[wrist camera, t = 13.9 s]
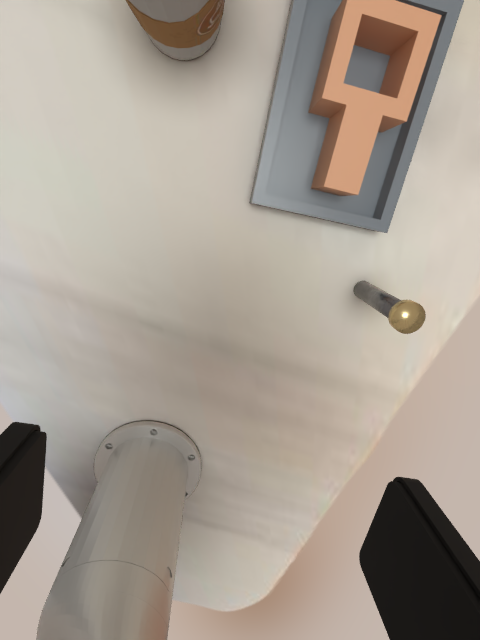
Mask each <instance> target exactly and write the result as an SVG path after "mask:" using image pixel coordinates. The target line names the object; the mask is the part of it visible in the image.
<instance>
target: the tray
mask: <svg viewBox="0 0 480 640" xmlns="http://www.w3.org/2000/svg"><path fill="white" fill-rule="evenodd" d="M396 1H399V2H402V3H405V4H408V5H411V6H414V7H418V8H421V9H424V10H427V11H430V12H433V13H436V14H439V15H442V16H441V19H440V22H439V25H438V28H437V31H436V34H435V37H434V40H433V43H432V46H431V49H430V52H429V55H428V58H427V61H426V64H425V67H424V70H423V73H422V76H421V79H420V83H419V86H418V89H417V92H416V95H415V98H414V101H413V104H412V107H411V110H410V113H409V116H408V119H407V122H405V123H402V124H400V125H398V126H396V127H393V128H391V129H389V130H386V131H384V132H382V133H381V132H378V133H377V136H376V139H375V142H374V146H373V149H372V152H371V155H370V159H369V162H368V165H367V168H366V171H365V175H364V178H363V181H362V184H361V188H360V191H359V194H358V195H350V196H339V195H335V194H331V193H326V192H322V191H318V190H314V189H311V186H312V182H313V178H314V174H315V171H316V167H317V163H318V159H319V156H320V152H321V148H322V145H323V141H324V137H325V133H326V130H327V126H328V122H329V118H327V117H323V116H319V115H316V114H312V113H308V111H309V107H310V103H311V99H312V95H313V91H314V87H315V83H316V79H317V75H318V71H319V67H320V63H321V59H322V55H323V51H324V47H325V43H326V39H327V35H328V31H329V27H330V23H331V19H332V17H333V15H334V14H335V12H336V10H337V8H338V7H339V5H340V3H341V2H342V0H291V5H290V10H289V15H288V20H287V24H286V29H285V34H284V39H283V44H282V49H281V53H280V58H279V63H278V68H277V73H276V78H275V82H274V87H273V92H272V97H271V102H270V107H269V111H268V116H267V121H266V126H265V131H264V136H263V140H262V145H261V150H260V155H259V160H258V165H257V169H256V174H255V179H254V184H253V189H252V194H251V198H250V203H252V204H257V205H261V206H266V207H270V208H275V209H279V210H284V211H288V212H293V213H297V214H302V215H306V216H311V217H315V218H320V219H324V220H329V221H333V222H338V223H342V224H347V225H351V226H356V227H360V228H365V229H369V230H374V231H379V232H384V233H387V232H388V229H389V226H390V223H391V220H392V217H393V214H394V211H395V208H396V205H397V202H398V199H399V196H400V192H401V189H402V186H403V183H404V180H405V177H406V174H407V171H408V168H409V165H410V162H411V159H412V156H413V153H414V150H415V147H416V144H417V141H418V138H419V135H420V132H421V129H422V126H423V123H424V120H425V117H426V114H427V111H428V108H429V105H430V102H431V99H432V96H433V93H434V90H435V87H436V84H437V81H438V78H439V74H440V71H441V68H442V65H443V62H444V59H445V56H446V53H447V50H448V47H449V44H450V41H451V38H452V35H453V32H454V29H455V26H456V23H457V20H458V17H459V14H460V11H461V8H462V5H463V2H464V0H396ZM389 59H390V56H389V55H386V54H382V53H379V52H376V51H373V50H369V49H366V48H363V47H359V46H356V45H354V46H353V49H352V53H351V57H350V60H349V64H348V68H347V72H346V75H345V79H344V84H348V85H351V86H355V87H358V88H362V89H365V90H369V91H372V92H376V93H379V92H380V88H381V85H382V82H383V78H384V75H385V72H386V68H387V65H388V62H389Z"/></svg>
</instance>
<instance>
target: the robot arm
mask: <svg viewBox="0 0 480 640" xmlns="http://www.w3.org/2000/svg"><path fill="white" fill-rule="evenodd" d="M46 438H47V436H46V433H45V432H40V426H39V425H34V424H27V423H20V422H13V423H12V424H11V425H10V426H9V427H8V428H7V429H6V430H5V431H4V432H3V433H2V434H1V435H0V593H1V592H2V590H3V588H4V586H5V585H6V583H7V581H8V579H9V578H10V576H11V574H12V572H13V571H14V569H15V567H16V565H17V563H18V562H19V560H20V558H21V557H22V555H23V553H24V551H25V549H26V548H27V546H28V544H29V542H30V541H31V539H32V537H33V535H34V534H35V532H36V530H37V528H38V525H39V523H40V519H41V514H42V499H43V485H44V469H45V454H46ZM94 474H95V478H96V480H97V483H98V484H97V486H96V489H95V491H94V493H93V495H92V498H91V500H90V502H89V504H88V507H87V509H86V511H85V513H84V516H83V518H82V520H81V522H80V525H79V527H78V529H77V532H76V534H75V536H74V538H73V541H72V543H71V545H70V548H69V550H68V552H67V554H66V556H65V559H64V561H63V563H62V565H61V568H60V570H59V572H58V575H57V577H56V579H55V582H54V584H53V586H52V588H51V590H50V593H49V595H48V597H47V600H46V602H45V605H44V607H43V610H42V613H41V616H40V620H39V625H38V631H37V639H36V640H167V636H168V627H169V619H170V610H171V604H172V596H173V588H174V580H175V572H176V564H177V556H178V548H179V540H180V532H181V524H182V516H183V508H184V500H186V499H187V498H188V497H189V496H190V495H191V494H192V493H193V492H194V490H195V488H196V487H197V485H198V482H199V479H200V475H201V458H200V454H199V451H198V450H197V448H196V446H195V444H194V443H193V442H192V440H191V439H190V438H189V437H188V436H187V435H185V434H184V433H183V432H182V431H180V430H178V429H176V428H175V427H172V426H170V425H167V424H164V423H159V422H154V421H140V422H133V423H130V424H127V425H123V426H121V427H119V428H118V429H116V430H114V431H113V432H111V433H110V434H109V435H108V436H107V437H106V438H105V439H104V440H103V442H102V443H101V445H100V447H99V449H98V451H97V453H96V456H95V459H94ZM359 557H360V565H361V568H362V571H363V573H364V576H365V578H366V581H367V583H368V586H369V588H370V591H371V593H372V595H373V598H374V601H375V603H376V606H377V608H378V611H379V613H380V616H381V618H382V621H383V623H384V626H385V628H386V631H387V633H388V636H389V639H390V640H480V561H479V560H478V558H477V557H476V556H475V554H474V553H473V552H472V550H471V549H470V548H469V546H468V545H467V544H466V542H465V541H464V540H463V538H462V537H461V536H460V534H459V533H458V531H457V530H456V529H455V528H454V526H453V525H452V523H451V522H450V521H449V519H448V518H447V517H446V515H445V514H444V513H443V511H442V510H441V508H440V507H439V506H438V504H437V503H436V502H435V500H434V499H433V498H432V496H431V495H430V494H429V492H428V491H427V490H426V488H425V487H424V486H423V484H422V483H421V482H420V481H419V480H417V479H410V478H403V477H396V478H395V479H394V480H393V481H391V482H389V483H388V485H387V487H386V490H385V492H384V495H383V497H382V500H381V502H380V504H379V507H378V509H377V511H376V514H375V516H374V519H373V521H372V523H371V526H370V528H369V531H368V533H367V536H366V538H365V540H364V543H363V545H362V548H361V550H360V556H359Z"/></svg>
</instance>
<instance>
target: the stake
mask: <svg viewBox="0 0 480 640" xmlns="http://www.w3.org/2000/svg"><path fill="white" fill-rule="evenodd" d="M354 294H355V295H356V296H357V297H359V298H360V299H361V300H363V301H364V302H366V303H367V304H369V305H370V306H372V307H373V308H374V309H376V310H377V311H379V312H380V313H382V314H383V315H385V316H386V317H387V318H388V319H389V323H390V325H391V326H392V327H393V328H394V329H396V330H397V331H399V332H401V333H404V334H409V333H413V332H415V331H417V330H418V329H419V328H420V327H421V326H422V325H423V323H424V321H425V310H424V308H423V307H422V306H421V305H420V304H418V303H416V302H414V301H412V300H402V301H401V300H399V299H398V298H396V297H394V296H392V295H390V294H388V293H386V292H385V291H383V290H381V289H379V288H377V287H375V286H374V285H372V284H370V283H368V282H366V281H360V282H358V283H357V284H356V285H355V286H354Z"/></svg>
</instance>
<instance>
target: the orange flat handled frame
mask: <svg viewBox="0 0 480 640" xmlns="http://www.w3.org/2000/svg"><path fill="white" fill-rule="evenodd" d="M441 16H442V15H439V14H436V13H433V12H430V11H427V10H424V9H421V8H418V7H414V6H411V5H408V4H405V3H402V2H399V1H396V0H342V2H341V3H340V5H339V7H338V8H337V10H336V12H335V14H334V15H333V17H332V19H331V23H330V27H329V31H328V35H327V39H326V43H325V47H324V51H323V55H322V59H321V63H320V67H319V71H318V75H317V79H316V83H315V87H314V91H313V95H312V99H311V103H310V107H309V111H308V113H312V114H316V115H319V116H323V117H327V118H329V122H328V126H327V130H326V133H325V137H324V141H323V145H322V148H321V152H320V156H319V159H318V163H317V167H316V171H315V174H314V178H313V182H312V186H311V189H314V190H318V191H322V192H326V193H331V194H335V195H339V196H350V195H358V194H359V191H360V188H361V184H362V181H363V178H364V175H365V171H366V168H367V165H368V162H369V159H370V155H371V152H372V149H373V146H374V142H375V139H376V136H377V133H378V132H381V133H382V132H384V131H386V130H389V129H391V128H393V127H396V126H398V125H400V124H402V123H405V122H407V119H408V116H409V113H410V110H411V107H412V104H413V101H414V98H415V95H416V92H417V89H418V86H419V83H420V79H421V76H422V73H423V70H424V67H425V64H426V61H427V58H428V55H429V52H430V49H431V46H432V43H433V40H434V37H435V34H436V31H437V28H438V25H439V22H440V19H441ZM354 45H356V46H359V47H363V48H366V49H369V50H373V51H376V52H379V53H382V54H386V55H389V56H390V59H389V62H388V65H387V68H386V72H385V75H384V78H383V82H382V85H381V88H380V92H379V93H376V92H372V91H369V90H365V89H362V88H358V87H355V86H351V85H348V84H344V79H345V75H346V72H347V68H348V64H349V60H350V57H351V53H352V49H353V46H354Z"/></svg>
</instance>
